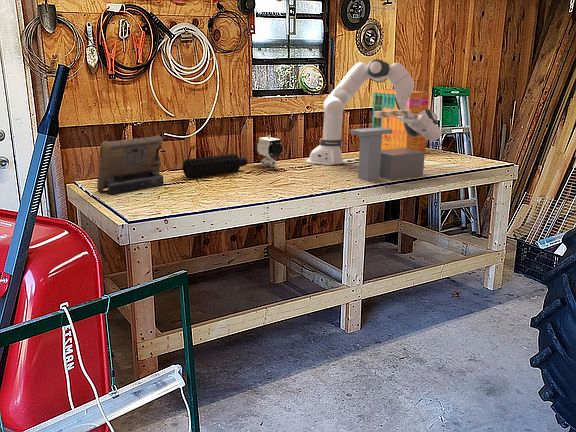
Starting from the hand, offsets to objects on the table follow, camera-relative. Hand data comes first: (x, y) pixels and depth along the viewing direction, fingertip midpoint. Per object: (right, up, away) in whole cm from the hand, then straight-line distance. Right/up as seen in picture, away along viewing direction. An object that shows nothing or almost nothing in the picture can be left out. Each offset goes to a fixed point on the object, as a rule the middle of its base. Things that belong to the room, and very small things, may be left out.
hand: (403, 112), depth 302 cm
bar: (-6, -3, -3) cm, 7 cm away
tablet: (-137, -42, -27) cm, 146 cm away
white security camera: (-73, -26, +30) cm, 83 cm away
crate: (-2, -33, +9) cm, 34 cm away
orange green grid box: (+14, -10, +89) cm, 90 cm away
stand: (-19, -36, -1) cm, 40 cm away
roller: (-100, -33, +8) cm, 106 cm away
